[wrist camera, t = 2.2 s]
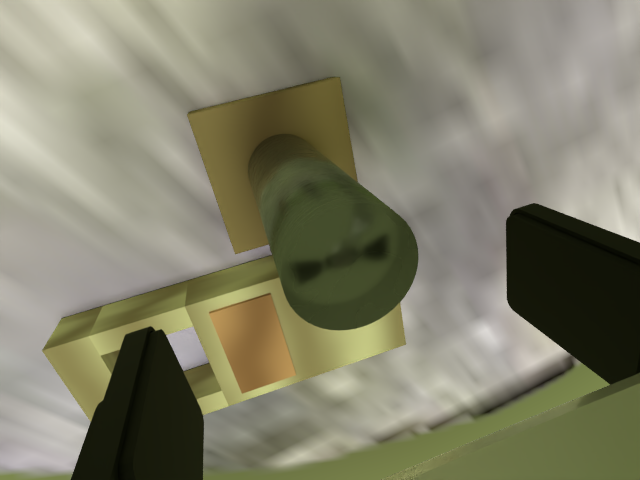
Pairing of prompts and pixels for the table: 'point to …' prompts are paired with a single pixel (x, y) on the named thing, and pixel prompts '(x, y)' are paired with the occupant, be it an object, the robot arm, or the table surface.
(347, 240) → the peg
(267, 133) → the tab
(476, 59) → the table surface
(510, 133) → the table surface
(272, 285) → the block with square hole
